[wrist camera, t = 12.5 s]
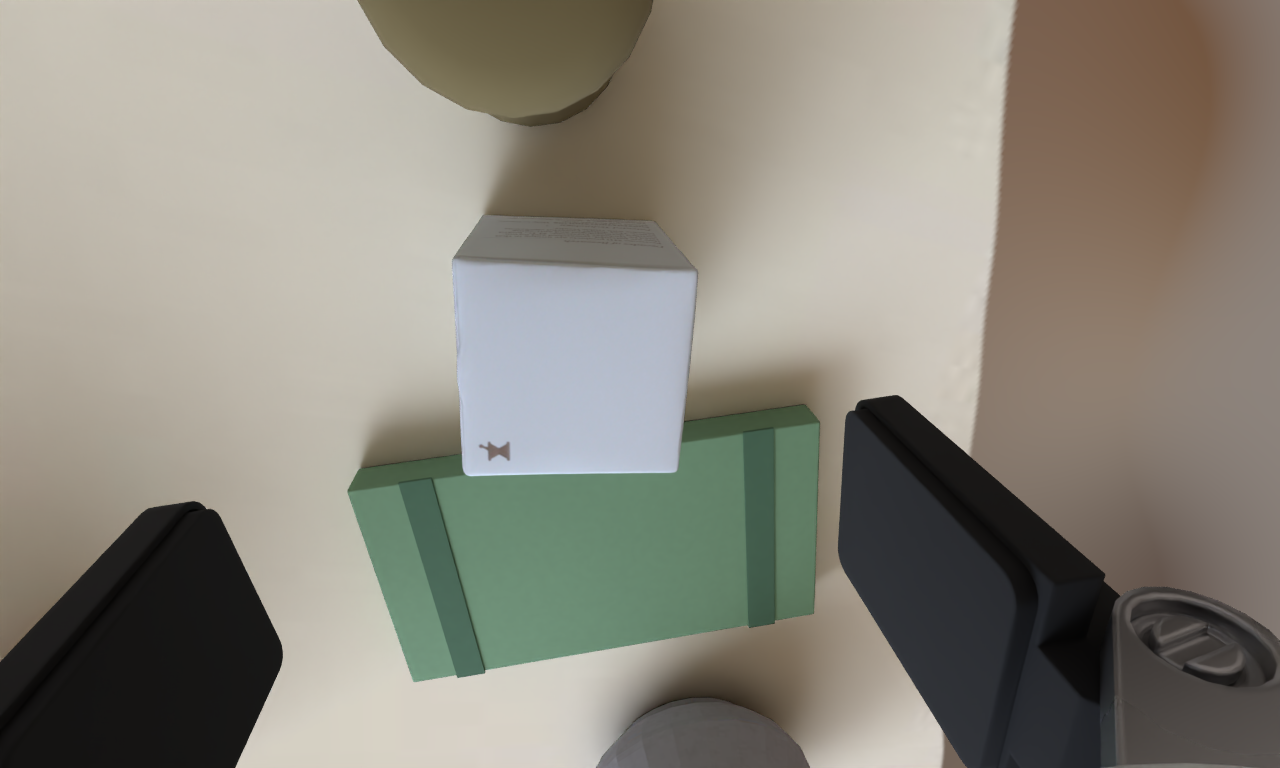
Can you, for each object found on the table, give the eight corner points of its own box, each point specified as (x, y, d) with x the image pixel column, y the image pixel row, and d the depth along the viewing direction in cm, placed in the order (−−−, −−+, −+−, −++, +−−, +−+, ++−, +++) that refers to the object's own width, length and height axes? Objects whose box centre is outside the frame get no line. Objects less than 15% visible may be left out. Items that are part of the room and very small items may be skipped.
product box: (644, 378, 24) (680, 481, 18) (484, 375, 23) (457, 483, 17) (658, 217, 22) (704, 266, 15) (479, 207, 21) (445, 255, 14)
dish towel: (357, 466, 24) (344, 491, 23) (805, 402, 26) (821, 420, 24) (420, 654, 28) (412, 685, 27) (801, 590, 30) (815, 616, 28)
